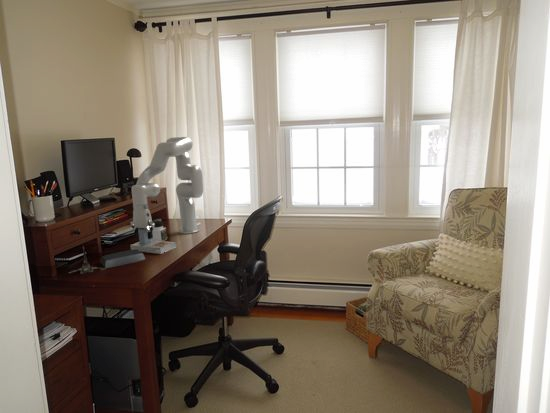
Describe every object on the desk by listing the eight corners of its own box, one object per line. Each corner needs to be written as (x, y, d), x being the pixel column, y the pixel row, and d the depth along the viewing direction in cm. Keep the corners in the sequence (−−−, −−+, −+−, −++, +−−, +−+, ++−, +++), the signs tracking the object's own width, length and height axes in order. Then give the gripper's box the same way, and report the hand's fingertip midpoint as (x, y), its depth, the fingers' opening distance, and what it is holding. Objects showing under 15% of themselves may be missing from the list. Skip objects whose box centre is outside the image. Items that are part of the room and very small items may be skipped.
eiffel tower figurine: (108, 269, 192) (104, 242, 190) (92, 276, 183) (88, 248, 181) (84, 267, 198) (80, 241, 195) (67, 274, 188) (63, 247, 186)
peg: (145, 246, 227) (143, 227, 225) (150, 247, 225) (148, 228, 223) (140, 248, 223) (138, 229, 221) (145, 249, 221) (143, 230, 219)
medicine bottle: (162, 242, 235) (159, 222, 233) (150, 242, 236) (148, 222, 234) (167, 238, 242) (165, 219, 239) (156, 238, 243) (154, 219, 241)
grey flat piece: (147, 244, 232) (146, 239, 231) (176, 247, 221) (175, 242, 221) (131, 250, 221) (130, 244, 221) (161, 253, 211) (160, 248, 210)
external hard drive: (146, 260, 202) (145, 253, 202) (105, 269, 192) (104, 261, 191) (139, 255, 213) (138, 247, 212) (100, 263, 203) (99, 255, 202)
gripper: (157, 206, 219) (160, 237, 222) (134, 205, 227) (137, 235, 230) (147, 209, 212) (150, 240, 215) (124, 208, 220) (127, 238, 223)
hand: (143, 237), depth 223 cm, fingers open, 9 cm apart
